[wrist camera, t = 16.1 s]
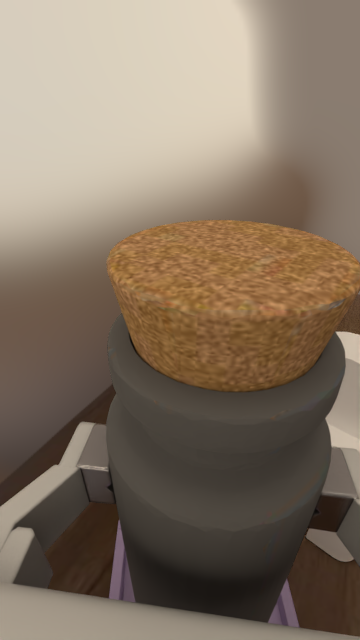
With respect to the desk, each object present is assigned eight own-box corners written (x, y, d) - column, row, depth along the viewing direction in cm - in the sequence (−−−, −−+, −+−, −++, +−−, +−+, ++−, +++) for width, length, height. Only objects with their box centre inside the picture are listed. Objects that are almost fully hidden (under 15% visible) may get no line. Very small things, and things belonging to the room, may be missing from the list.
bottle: (210, 488, 18) (235, 203, 10) (299, 600, 13) (470, 263, 6) (111, 560, 15) (32, 237, 7) (187, 729, 11) (208, 414, 3)
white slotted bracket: (404, 405, 32) (450, 319, 27) (351, 570, 20) (414, 477, 15) (309, 365, 37) (332, 286, 32) (224, 478, 26) (236, 384, 20)
